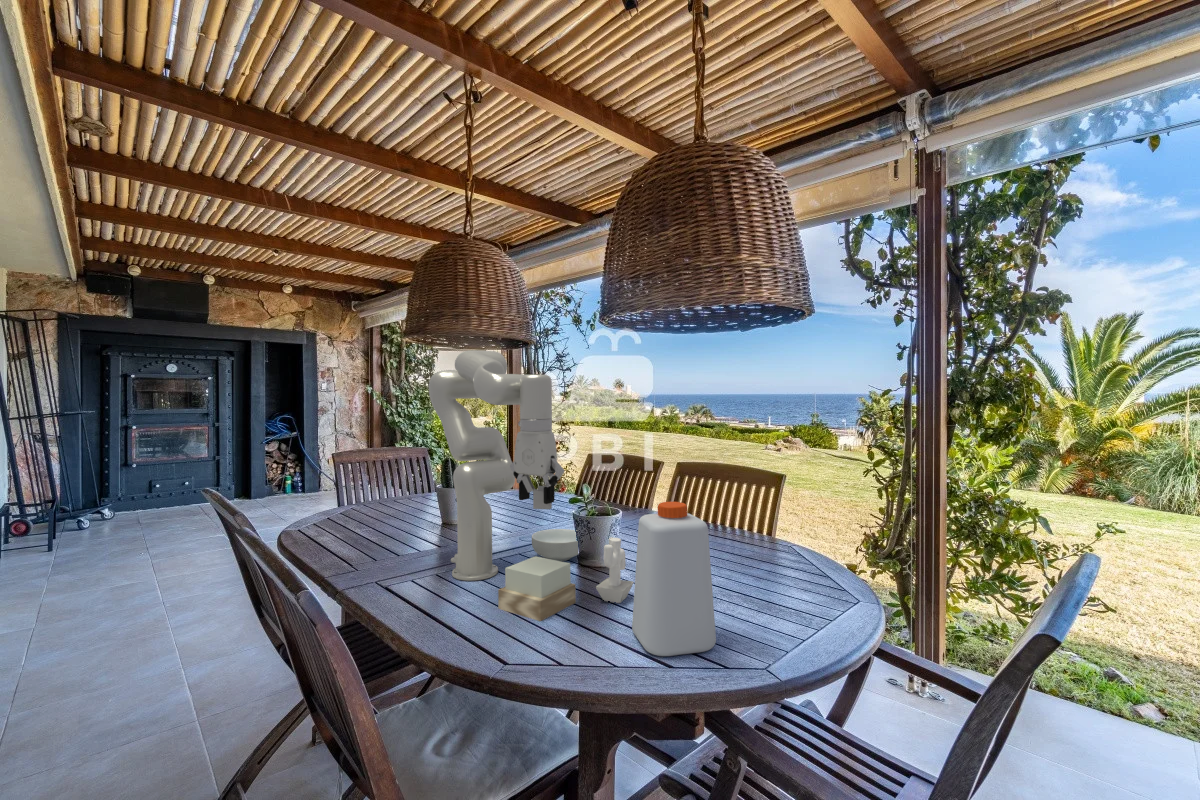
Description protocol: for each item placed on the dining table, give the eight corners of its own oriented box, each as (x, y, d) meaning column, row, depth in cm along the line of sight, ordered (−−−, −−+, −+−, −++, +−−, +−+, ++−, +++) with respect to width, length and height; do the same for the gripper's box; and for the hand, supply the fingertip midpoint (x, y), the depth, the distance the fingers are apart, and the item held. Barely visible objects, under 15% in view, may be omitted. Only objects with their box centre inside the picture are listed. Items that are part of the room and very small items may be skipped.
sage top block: (505, 589, 131) (505, 568, 131) (535, 575, 140) (535, 556, 140) (541, 598, 125) (541, 576, 125) (570, 583, 134) (570, 563, 134)
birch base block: (498, 610, 131) (498, 589, 131) (534, 593, 141) (534, 574, 141) (540, 623, 123) (540, 601, 123) (575, 604, 134) (575, 584, 134)
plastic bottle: (649, 661, 105) (649, 514, 104) (627, 628, 119) (626, 499, 119) (723, 652, 108) (723, 509, 108) (692, 621, 123) (692, 495, 122)
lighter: (551, 507, 132) (551, 474, 132) (549, 509, 130) (549, 475, 130) (523, 506, 133) (523, 473, 133) (521, 508, 131) (520, 474, 131)
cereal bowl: (578, 567, 161) (578, 543, 160) (524, 564, 164) (523, 540, 164) (591, 551, 177) (591, 529, 177) (541, 548, 180) (541, 526, 180)
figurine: (635, 594, 139) (635, 535, 139) (621, 608, 130) (621, 544, 130) (609, 590, 142) (608, 532, 142) (593, 603, 133) (593, 541, 133)
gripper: (498, 426, 133) (498, 499, 133) (554, 428, 123) (554, 508, 124) (519, 424, 139) (520, 494, 140) (574, 426, 129) (575, 502, 130)
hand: (536, 500), depth 132 cm, fingers closed on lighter, 7 cm apart
